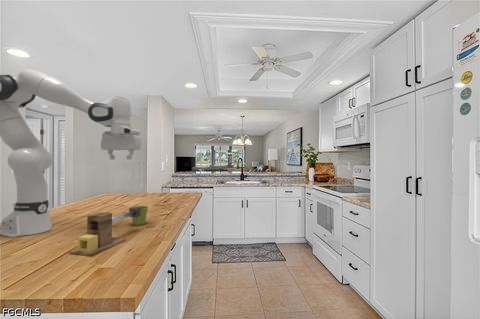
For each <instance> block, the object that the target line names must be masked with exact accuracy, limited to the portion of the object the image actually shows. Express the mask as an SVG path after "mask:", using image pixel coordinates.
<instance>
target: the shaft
mask: <svg viewBox="0 0 480 319" xmlns="http://www.w3.org/2000/svg"><path fill="white" fill-rule="evenodd" d="M139 216H140V208H138V207H136V206H132V208H131V207H129V209H128V211H127V212H124V213H121V214H118V215H117V214H116V215H114V216H113V215H112V223H115V222H118V221H120V220H123V219H126V218H132V217H139ZM96 225H97V226H98V222H97V223H96Z"/></svg>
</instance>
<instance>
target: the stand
mask: <svg viewBox="0 0 480 319" xmlns="http://www.w3.org/2000/svg"><path fill="white" fill-rule="evenodd" d="M112 217H113V213H112V212H101V211H99V212H95V213H91V214H88V215H87V216H86V218H87V220H86V222H87V223H86V224H87V226H86V229H87V230H86V234H91V235H98V249H96V250H93V251H91V252H82V251H78V247H77V248H75V249H73V250H69V251H68V254H69V255H75V256H76V255H77V256H83V257H84V256H85V257H95V256H96V255H99V254H100V253H102V252H105V251H107V250H109V249H111V248H113V247H116V246H117V245H120V244H121V243H123V242H126V241H127V238H124V237H123V238H122V237H116V236H115V237H113V222H112ZM97 222H98V226H97V225H96V223H97Z"/></svg>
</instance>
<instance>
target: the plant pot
mask: <svg viewBox="0 0 480 319" xmlns="http://www.w3.org/2000/svg"><path fill="white" fill-rule="evenodd" d="M132 207H133V206H132ZM132 207H130V208H132ZM135 207H138V208H140V216H139V217H131V222H132V225H134V226H140V225H141V226H142V225H146V220H147V214H148V210H149V206H148V205H147V206H146V205H137V206H135Z"/></svg>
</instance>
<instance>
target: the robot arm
mask: <svg viewBox="0 0 480 319" xmlns="http://www.w3.org/2000/svg"><path fill="white" fill-rule="evenodd" d="M36 97H38V98H40V99H43V100H45V101H47V102H50V103H54V104H57V105H61V106H64V107H65V106H66V107H69V108H74V109H76V110H79V111H80V112H82V113H85V114H87V115H88V117H89V119H90V120H92V121H93V122H95V123H97V124H100V125H102V126H104V127H107V128H110V131H109V130H108V131H107V130H106V131H104V132H102V134H101V140H100V149H101V150H102V151H107V154H108V156H109V160H115V159H116V157H115V155H114V154H113V153H114V151H128V155H126V160H128V161H129V160H132V159H133V155H134V154H135V151H139V150H141V149H142V138H141V136H140V135H141V130H139V129H135V128H133V127H132V123H131V118H132V108H131V103H130V101H129V100H128V99H126V98H125V97H121V96H117V95H116V96H111V98H109V99H107V100H104V101H98V102H92V101H90V100H88V99H86V98H84V97H82V96H81V94H78V93H77V92H76V91H74V89H71V88H70V87H69V86H68V85H66V83H64V82H63V81H60V80H59V79H58V78H56V77H54V76H51V75H49V74H47V73H44V72H42V71H39V70H36V69H32V68H25V69H22V70H21V71H20V72H19V73H18V75H17V76H13V75H11V74H0V138H1V140H2V141H3V143H4V144H5V145H7V146H8V147H9V148H10V149H12V152H11V153H9V155H8V156H7V164H8V166H9V167H10V168H11V170H12V172H13V175H14V176H13V177H14V179H15V184H16V202H15V203H14V204H12V207H13V211H11V212H10V213H9V214H8V215H6V216H5V217H3V219H1V223H0V224H1V225H0V226H1V227H0V236H5V237H7V238H14V237H21V236H29V235H37V234H40V233H41V234H43V233H45V232H49V231H50V230H52V227H53V223H51V214H50V210H49V207H50V206H49V204H50V203H49V199H48V182H47V181H46V178H45V175H44V171H46V170H47V169H49V168H50V167H52V165H53V163H54V157H53V155H52V154H51V153H50V152H49V151H48V150H47V148H45V146H44V145H43V143H41V141H40V140H39V139H38V138H37V136H35V134H34V132H32V130H31V128H30V126H29V125H28V124H27V122H26V121H25V119H24V117H23V116H22V114H21V112H20V111H19V108H21V109H22V108H25V107H26V106H27V105H28V104H30V103H32V102H33V101H35V99H36Z"/></svg>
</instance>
